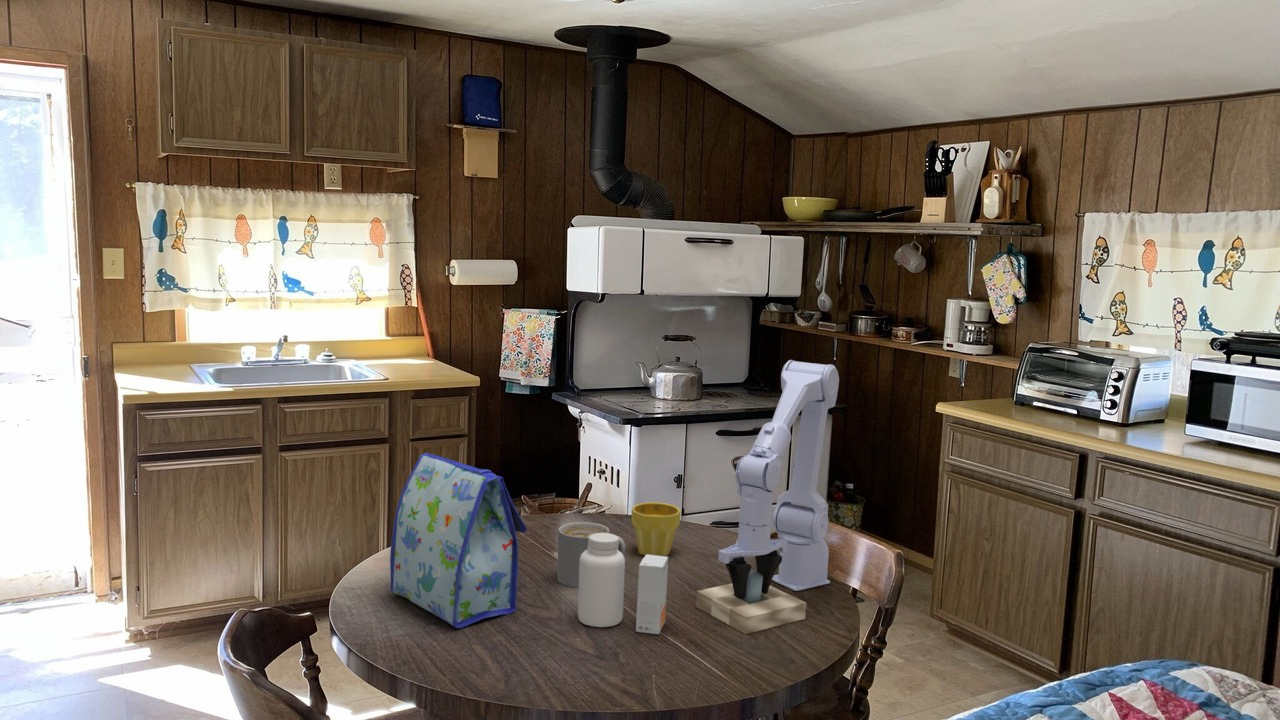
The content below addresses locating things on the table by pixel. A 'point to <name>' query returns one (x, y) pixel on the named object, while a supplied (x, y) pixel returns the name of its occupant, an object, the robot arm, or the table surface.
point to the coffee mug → (576, 549)
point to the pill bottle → (601, 582)
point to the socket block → (751, 608)
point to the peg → (753, 587)
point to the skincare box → (651, 594)
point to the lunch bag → (456, 542)
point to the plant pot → (655, 527)
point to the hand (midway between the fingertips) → (751, 594)
